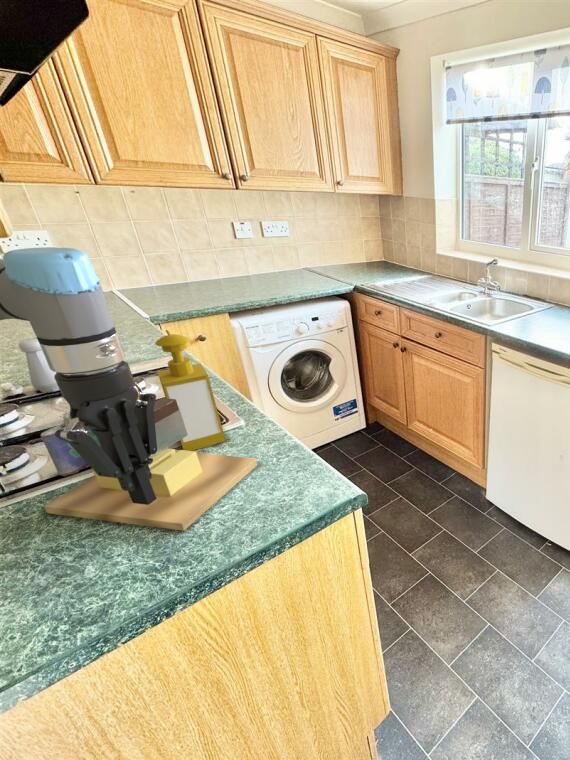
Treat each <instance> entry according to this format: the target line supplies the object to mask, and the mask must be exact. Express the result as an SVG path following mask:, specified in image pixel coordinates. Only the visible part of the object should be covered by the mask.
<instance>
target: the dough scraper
mask: <svg viewBox="0 0 570 760" xmlns="http://www.w3.org/2000/svg"><path fill="white" fill-rule="evenodd" d="M154 419H155V430H156V441H157V452H156V453H155V454H151V455H150V456H149V458H153V457H155V456H156V455H158V454H159V453H161V452H163V451H164V450H166V449H170V448H171V447H172V446H173V445H175V444H177V443H178V442H180V440H181V439H183V438H184V437H186V436H187V435H188V434H187V431H186V428H185V425H184V421H183V418H182V415H181V412H180V409H179V407H178V405H177V401H176V399H169V398H166V397H162V398H160V399H158V400H155V404H154ZM146 446H147V444H146Z"/></svg>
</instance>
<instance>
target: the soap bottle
mask: <svg viewBox="0 0 570 760" xmlns="http://www.w3.org/2000/svg"><path fill="white" fill-rule="evenodd" d="M164 332H165V333H166V334H167V335H164V336H162V337H160V338H158V339H157V340H156V341H155V343H154V344H155V345H156V346H157V347H161V349H162V351H163V352H165V353H171V357H172V359H170V360H168V361H167V366H168V368H167V369H163V370H157V375H158V378H159V381H160V384H161V387H162V390H163V394H164V396H165V397H164V398H169V399H176V401H177V405H178V407H179V409H180V412H181V415H182V418H183V421H184V425H185V428H186V431H187V434H188V435H187V436H186V437H184V438H183V439H181V440H180V441H179V442H180V445H181V447H182V450H185V451H196V450H199V449H203V448H206V447H210V446H214V445H217V444H220V443H223V442H226V441H227V440H226V437H225V434H224V429H223V426H222V422H221V419H220V418H221V417H220V414H219V411H218V407H217V403H216V400H215V397H214V393H213V389H212V385H211V381H210V377H209V374H208V373H207V371H206V369H205V368H204V366H203V365H202V363H196V364H192V361H191V359H190V357H184V356H183V353H182V351H184V350H186V349H188V343H189V342H191V338H190V337H188V336H186V335H183V334H177V333H176V334H175V333H173V334H172V333H171V332H170V331H169V330H168V329H165V331H164Z"/></svg>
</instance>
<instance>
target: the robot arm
mask: <svg viewBox="0 0 570 760" xmlns="http://www.w3.org/2000/svg"><path fill="white" fill-rule="evenodd" d="M112 317H113V316H112V314H111V311H110V308H109V305H108V302H107V299H106V295H105V294H104V290H103V288H102V281H101V279H100V277H99V276H98V275H97V273H96V270H95V269H94V266H93V264H92V261H91V259H90V257H89V255H88V254H87V253H85V252H83V251H82V250H81V249H77V248H72V247H53V246H51V247H50V246H49V247H47V246H46V247H45V246H43V247H28V248H27V247H26V248H19V249H12V250H8V251H7V252H5V253H4V254H3V257H2V258H0V321H5V320H19V321H27V322H29V324H30V326H31V328H32V330H33V332H34V334H35V336H36V339H38V342H39V344H40V346H41V349H42V351H43V353H44V356H45V358H46V361H47V363H48V365H49V368H50V369H51V370H52V371H54V372H56V374H55V376H54V378H55V380H56V382H57V385H58V387H59V389H60V390H59V392H60V394H61V396H62V398H63V399H64V400H65V401H66V402H67V403H68V405H69V409H70V410H69V413H70V417H71V419H72V420H71V422H70V423H69V424H68V426H67V427H66V428H65V429H59V430H57V431H56V432H55V436H56V437H57V438H59V439H62V440H64V441H66V442H68V443H69V444H70V445H71V446H72V447H73V448H74V449H75V450H76V451H77V452H78V454H79V455H80V456H81V457H82V458H83V459H84V460H85V461H86V462H87V463H88V465H89V466H88V467H90V468H91V469H93V470H94V471H95V472H96V473H97V474H98V475H99V476H103V477H111V478H117V479H118V481H119V483H120V485H121V488H122V489H123V490H124V491H128V492H129V495H130V497H131V500H132V502H133V503H137V504H145V505H149V504H150V503H152V502H153V501H154V500H156V499H157V498H156V496H155V493H154V491H153V488H152V485H151V483H150V479H151V478H152V474H151V471H150V468H149V466H148V465H149V464H151V463H152V462H153V459H152V458H149V456H150V455H151V454H155V453H156V452H157V441H156V430H155V419H154V404H155V402H156V401H157V400H156V399H157V395H156V394H155V393H152V392H142V391H138V389H137V388H136V387H134V386H135V383H136V381H135V378H134V375H133V372H132V370H131V367H130V365H129V363H128V362H127V361H125V359H126V354H125V351H124V349H123V346H122V343H121V340H120V337H119V333H118V332H117V330H116V327H115V324H114V320H113V318H112ZM84 425H85V426H87V427H90V429H91V431H92V433H93V434H94V435H96V436H97V438H98V441H99V443H100V445H101V447H100V446H99V445H98V444H97V443H96V441H95V440H94V439H93V438H91V437H90V436H88V434H89V431H87V430H86V429H85V428H84ZM146 444H147V446H146ZM101 448H102V449H101ZM93 470H92V471H93Z"/></svg>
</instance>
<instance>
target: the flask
mask: <svg viewBox="0 0 570 760" xmlns="http://www.w3.org/2000/svg"><path fill="white" fill-rule="evenodd" d="M59 418H62V419H63V420H62V422H63V423H61V424H58V425H56V426H54V427H51V428H49V429H46V430H45V431H43V432H42V433H40V438H41V440H42V443H43V444H44V446H45V448H46V450H47V452H48V454H49V457H50V459H51V461H52V463H53V465H54V467H55V469H56V471H57V474H58V475H59V476H60V477H67V476H70V475H74V474H76V473H78V472H79V471H81V470H83V469H86V468H88V467H90V466H89V465H88V463H87V462H86V461H85V460H84V459H83V458H82V457H81V456H80V455H79V454H78V452H77V451H76V450H75V449H74V448H73V447H72V446H71V445H70V444H69V443H68V442H66V441H64V440H62V439H59V438H57V437H56V436H55V432H56V431H57V430H59V429H65V428H66V427H67V426H68V424H69V423H70V422H71V420H72V419H71V417H70V412H65V413H63V414H62V415H60V416H59ZM84 428H85V429H86V430H87V431H89V434H88V436H90V437H91V438H93V439H94V440H95V441H96V443H97V444H98V445H99V446H100V447H101V445H100V443H99V441H98V438H97V436H96V435H94V434H93V433H92V431H91V429H90V427H87V426H85V425H84ZM101 449H102V448H101Z"/></svg>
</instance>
